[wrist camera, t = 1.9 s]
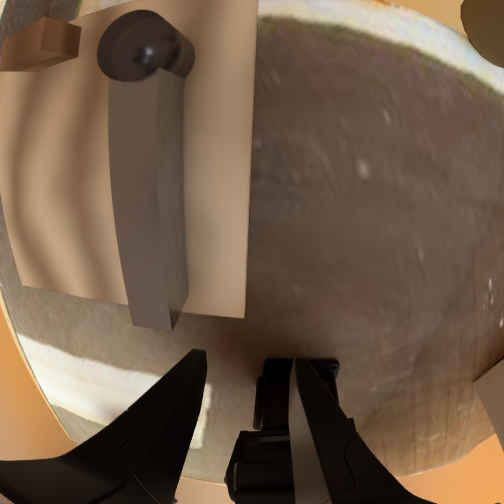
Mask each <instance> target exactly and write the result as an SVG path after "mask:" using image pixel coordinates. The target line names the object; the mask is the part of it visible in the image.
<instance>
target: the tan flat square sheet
mask: <svg viewBox="0 0 504 504" xmlns="http://www.w3.org/2000/svg"><path fill="white" fill-rule="evenodd" d="M142 9H144V10H151V11H154V12H156V13H157V14H159V15H160V16H162V17H163V18H164V19H165V20H166V21H168V22H169V23H170V24H171V25H173V26H174V27H175V28H176V29H177V30H178V31H180V32H181V33H182V34H183V35H184V36H185V37H187V38H188V39H189V40H190V41H191V43H192V45H193V46H194V49H195V62H194V65H193V68H192V70H191V71H190V73H189V74H188V76H187V77H186V78H185V82H184V112H183V186H184V218H185V240H186V257H187V272H188V285H189V296H188V298H187V300H186V302H185V304H184V306H183V309H182V311H181V312H186V313H195V314H204V315H214V316H225V317H236V318H244V315H245V307H246V278H247V251H248V225H249V199H250V174H251V149H252V125H253V102H254V79H255V57H256V35H257V14H258V0H136V1H132V2H128V3H124V4H121V5H117V6H114V7H110V8H107V9H104V10H100V11H97V12H94V13H91V14H88V15H86V16H83V17H80V18H77V19H75V20H72V21H70V22H67V23H70V24H73V25H76V26H79V27H82V29H81V36H80V44H79V53H78V57H77V58H74V59H71V60H68V61H65V62H62V63H59V64H56V65H54V66H51V67H48V68H46V69H43V70H40V71H38V72H0V193H1V199H2V205H3V211H4V216H5V221H6V226H7V231H8V235H9V239H10V243H11V247H12V251H13V255H14V259H15V262H16V266H17V269H18V272H19V276H20V279H21V282H22V285H25V286H30V287H34V288H39V289H44V290H48V291H53V292H58V293H63V294H68V295H74V296H79V297H84V298H90V299H96V300H102V301H108V302H114V303H120V304H126V305H129V304H128V300H127V295H126V290H125V285H124V280H123V274H122V269H121V263H120V257H119V251H118V244H117V237H116V230H115V222H114V214H113V204H112V194H111V182H110V168H109V148H108V88H109V77H107V76H106V75H105V74H104V73H103V72H102V71H101V69H100V68H99V65H98V62H97V48H98V44H99V41H100V39H101V37H102V35H103V33H104V32H105V30H106V29H107V28H108V26H109V25H110V24H111V23H112V22H113V21H114V20H116V19H117V18H118V17H120V16H122V15H123V14H125V13H128V12H130V11H134V10H142ZM0 58H1V56H0Z"/></svg>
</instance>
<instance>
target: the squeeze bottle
mask: <svg viewBox="0 0 504 504" xmlns="http://www.w3.org/2000/svg"><path fill="white" fill-rule="evenodd" d="M461 20H462V23H463V26H464V30H465V32H466V34H467V36H468V37H469V39H470V41H471V43H472V44H473V46H474V47H475V48H476V49H477V50H478V52H479V53H480V54H481V55H482V56H483V57H484V58H485V59H486V60H488V61H489V62H491V63H492V64H493V65H496V66H499V67H501V68H504V0H464V1H463V3H462V5H461Z"/></svg>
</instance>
